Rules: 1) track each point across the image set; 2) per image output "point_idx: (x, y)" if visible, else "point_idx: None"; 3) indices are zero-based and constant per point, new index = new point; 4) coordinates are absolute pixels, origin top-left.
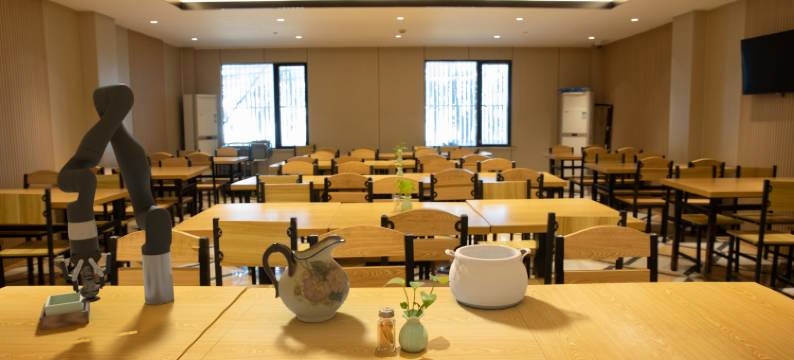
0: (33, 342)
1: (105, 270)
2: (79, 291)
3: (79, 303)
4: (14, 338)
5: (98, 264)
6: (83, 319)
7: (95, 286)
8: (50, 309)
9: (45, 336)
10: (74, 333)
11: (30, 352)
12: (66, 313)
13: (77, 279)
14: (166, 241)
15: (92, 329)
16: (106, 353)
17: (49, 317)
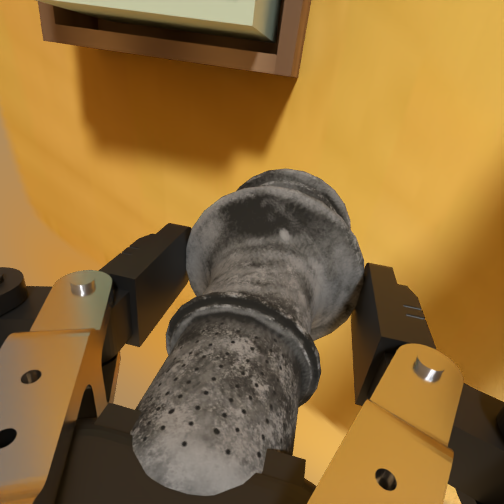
0: (91, 168)
1: (472, 496)
2: (192, 287)
3: (237, 25)
4: (9, 64)
5: (442, 495)
6: (269, 73)
7: (314, 318)
8: (68, 5)
9: (122, 123)
10: (227, 162)
11: (100, 259)
12: (173, 43)
13: (135, 300)
14: None
15: (299, 158)
16: None
17: (92, 47)
